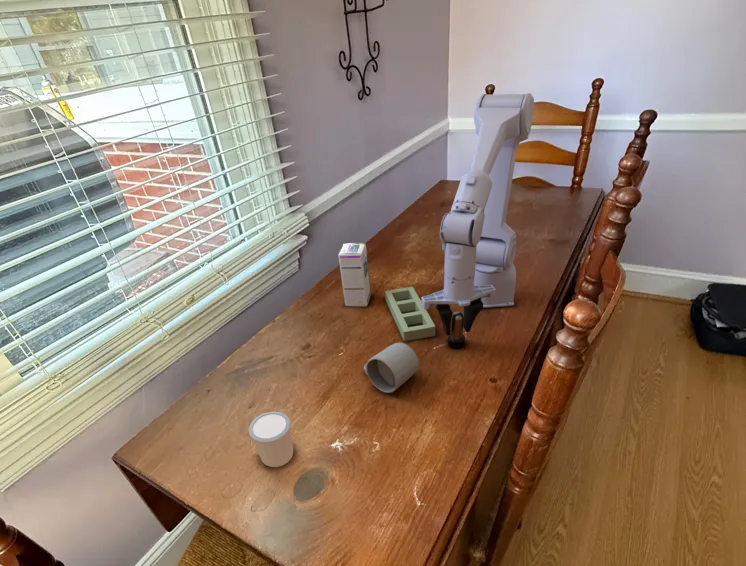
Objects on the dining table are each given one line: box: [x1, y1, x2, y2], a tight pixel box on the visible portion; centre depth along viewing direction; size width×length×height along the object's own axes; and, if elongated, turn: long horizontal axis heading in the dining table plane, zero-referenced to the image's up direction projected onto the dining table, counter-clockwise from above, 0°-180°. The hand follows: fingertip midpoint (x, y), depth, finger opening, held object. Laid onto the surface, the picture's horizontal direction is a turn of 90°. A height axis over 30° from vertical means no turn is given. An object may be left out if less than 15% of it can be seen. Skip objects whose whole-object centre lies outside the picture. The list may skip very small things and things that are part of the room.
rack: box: [384, 286, 437, 342], centre depth 111 cm, size 7×18×2 cm, turn 8°
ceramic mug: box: [363, 341, 420, 394], centre depth 92 cm, size 11×8×8 cm
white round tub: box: [248, 411, 294, 468], centre depth 80 cm, size 7×7×7 cm
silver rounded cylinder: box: [447, 311, 466, 350], centre depth 99 cm, size 4×4×8 cm
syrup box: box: [337, 242, 372, 307], centre depth 115 cm, size 6×6×14 cm
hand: (456, 331), depth 99 cm, fingers open, 4 cm apart
